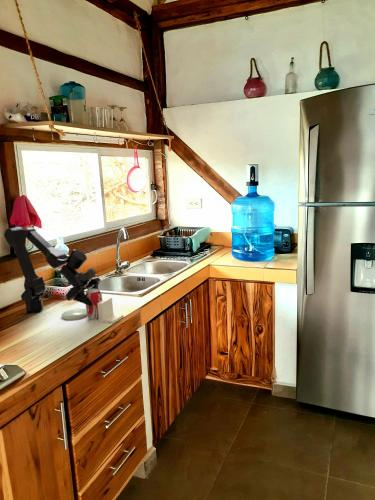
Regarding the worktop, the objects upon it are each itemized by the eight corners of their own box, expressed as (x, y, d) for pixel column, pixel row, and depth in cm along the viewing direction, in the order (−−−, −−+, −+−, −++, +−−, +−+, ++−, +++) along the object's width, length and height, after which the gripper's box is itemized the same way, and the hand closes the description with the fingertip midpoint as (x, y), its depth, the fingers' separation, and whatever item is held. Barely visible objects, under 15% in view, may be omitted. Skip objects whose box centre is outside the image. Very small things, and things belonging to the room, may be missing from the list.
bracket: (99, 321, 168) (97, 303, 167) (109, 314, 176) (107, 297, 174) (113, 323, 166) (111, 304, 164) (123, 316, 173) (122, 298, 172)
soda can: (99, 320, 170) (97, 293, 167) (84, 319, 171) (81, 292, 169) (106, 314, 176) (104, 288, 174) (91, 314, 178) (88, 287, 176)
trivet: (59, 321, 171) (59, 319, 171) (63, 311, 183) (63, 310, 183) (88, 318, 172) (87, 316, 172) (90, 309, 184) (90, 307, 184)
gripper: (68, 269, 162) (94, 297, 160) (95, 259, 179) (118, 284, 177) (54, 286, 167) (79, 314, 165) (82, 275, 184) (105, 300, 182)
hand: (96, 302), depth 172 cm, fingers closed on soda can, 7 cm apart
